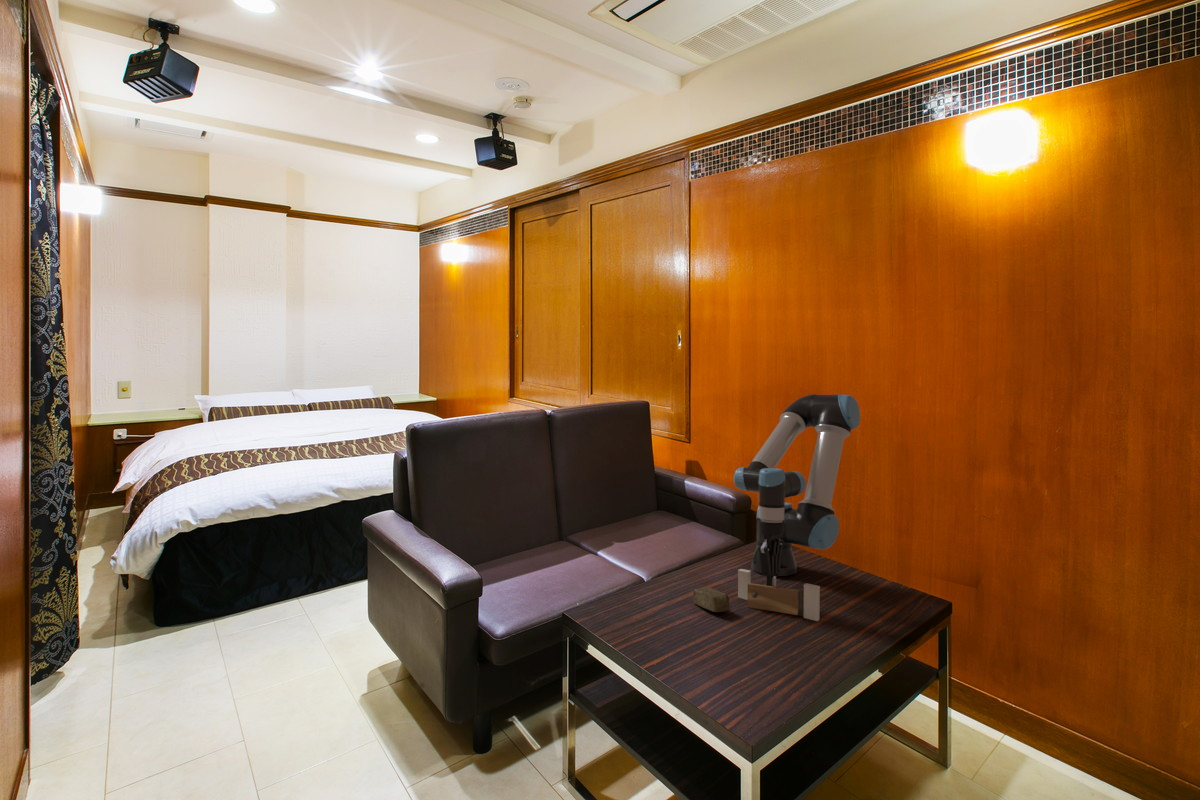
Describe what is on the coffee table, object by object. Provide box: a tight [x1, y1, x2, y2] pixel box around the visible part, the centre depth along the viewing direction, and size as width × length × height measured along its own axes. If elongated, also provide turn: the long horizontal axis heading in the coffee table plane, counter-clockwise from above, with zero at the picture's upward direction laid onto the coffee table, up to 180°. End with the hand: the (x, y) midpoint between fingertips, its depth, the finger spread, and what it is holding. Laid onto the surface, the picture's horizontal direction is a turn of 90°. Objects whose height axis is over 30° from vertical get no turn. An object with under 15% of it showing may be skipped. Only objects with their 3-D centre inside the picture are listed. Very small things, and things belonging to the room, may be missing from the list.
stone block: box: [692, 586, 730, 613], centre depth 176 cm, size 6×12×5 cm, turn 27°
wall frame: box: [737, 568, 821, 622], centre depth 175 cm, size 2×25×10 cm, turn 49°
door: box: [746, 583, 804, 617], centre depth 173 cm, size 3×16×7 cm, turn 65°
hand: (770, 597), depth 177 cm, fingers closed
